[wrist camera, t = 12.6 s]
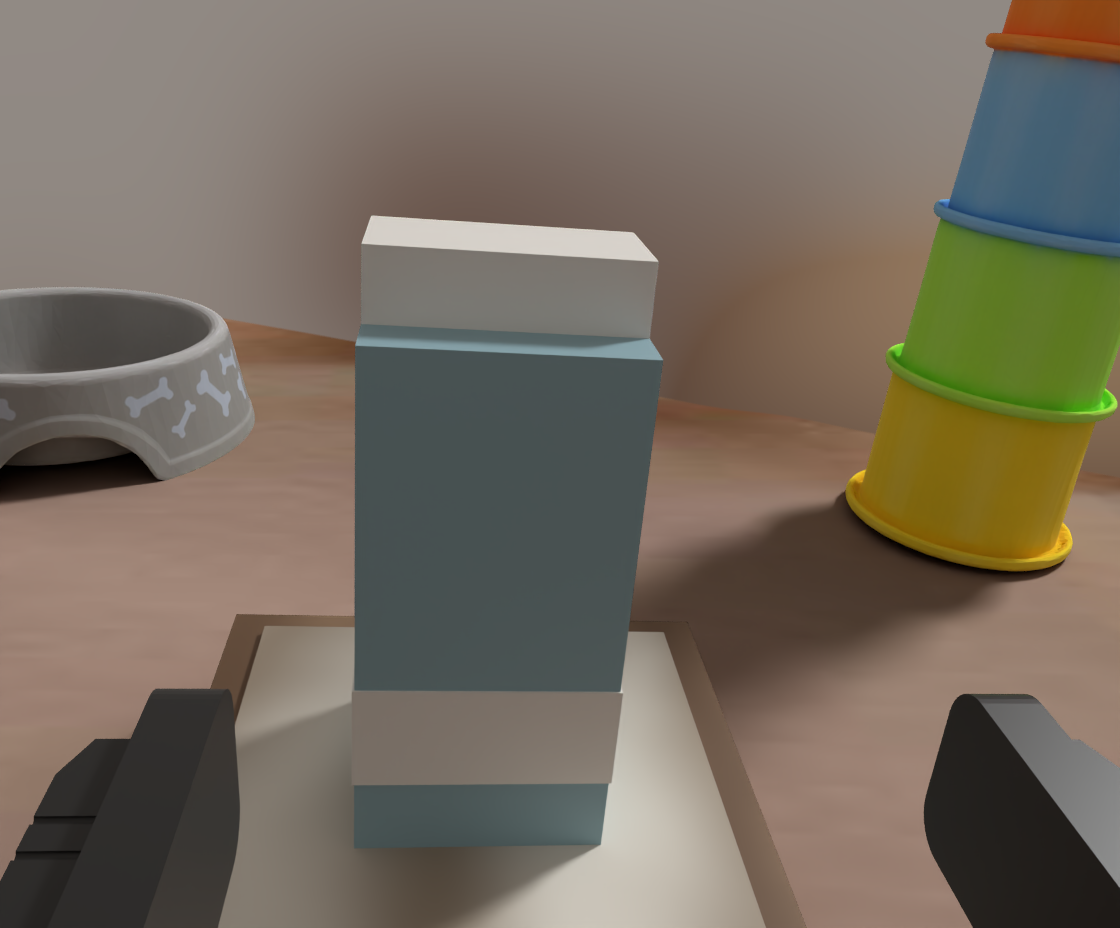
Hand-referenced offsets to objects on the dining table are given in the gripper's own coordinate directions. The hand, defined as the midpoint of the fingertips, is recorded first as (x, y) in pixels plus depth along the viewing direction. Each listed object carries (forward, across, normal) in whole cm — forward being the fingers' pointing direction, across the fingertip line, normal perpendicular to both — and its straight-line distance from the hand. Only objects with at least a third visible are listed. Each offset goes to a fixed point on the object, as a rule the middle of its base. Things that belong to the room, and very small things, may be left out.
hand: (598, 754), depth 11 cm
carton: (+11, +1, +10) cm, 15 cm away
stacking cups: (+32, -22, +14) cm, 41 cm away
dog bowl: (+40, +21, +14) cm, 47 cm away
